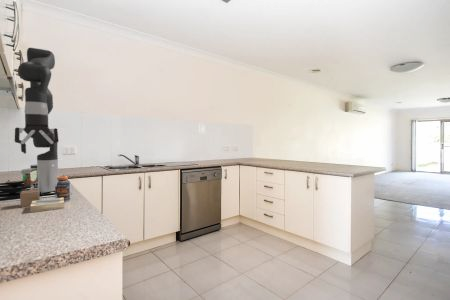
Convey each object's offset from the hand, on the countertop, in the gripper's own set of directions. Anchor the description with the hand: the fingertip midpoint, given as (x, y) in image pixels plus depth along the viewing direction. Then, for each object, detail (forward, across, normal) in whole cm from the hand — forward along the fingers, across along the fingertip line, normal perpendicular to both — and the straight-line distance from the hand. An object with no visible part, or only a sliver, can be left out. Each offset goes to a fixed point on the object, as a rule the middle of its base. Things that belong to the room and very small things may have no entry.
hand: (38, 153), depth 100 cm
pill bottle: (+23, -8, -8) cm, 26 cm away
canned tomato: (+25, +4, -83) cm, 87 cm away
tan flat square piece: (+23, -3, +3) cm, 23 cm away
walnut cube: (+23, +4, -7) cm, 24 cm away
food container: (+24, +8, -66) cm, 71 cm away
